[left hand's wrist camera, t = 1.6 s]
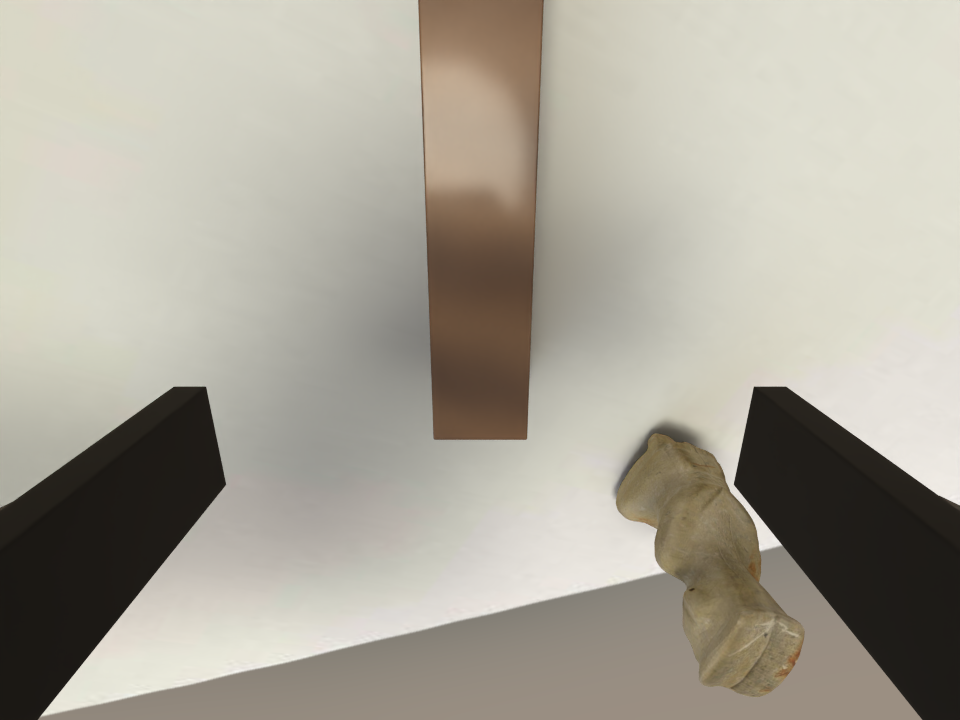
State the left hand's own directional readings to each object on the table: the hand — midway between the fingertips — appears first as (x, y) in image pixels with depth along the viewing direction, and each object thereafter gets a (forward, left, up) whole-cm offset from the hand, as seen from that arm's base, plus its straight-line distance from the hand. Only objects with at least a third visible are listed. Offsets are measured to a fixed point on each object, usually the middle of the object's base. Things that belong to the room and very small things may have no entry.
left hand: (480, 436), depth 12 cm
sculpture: (+8, -17, -21) cm, 28 cm away
